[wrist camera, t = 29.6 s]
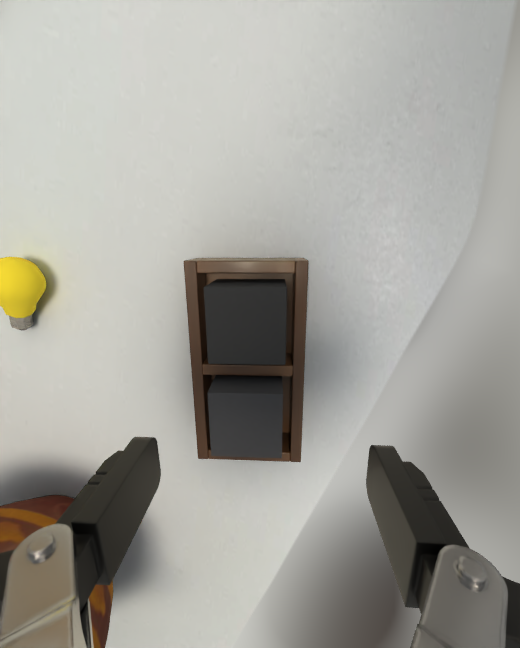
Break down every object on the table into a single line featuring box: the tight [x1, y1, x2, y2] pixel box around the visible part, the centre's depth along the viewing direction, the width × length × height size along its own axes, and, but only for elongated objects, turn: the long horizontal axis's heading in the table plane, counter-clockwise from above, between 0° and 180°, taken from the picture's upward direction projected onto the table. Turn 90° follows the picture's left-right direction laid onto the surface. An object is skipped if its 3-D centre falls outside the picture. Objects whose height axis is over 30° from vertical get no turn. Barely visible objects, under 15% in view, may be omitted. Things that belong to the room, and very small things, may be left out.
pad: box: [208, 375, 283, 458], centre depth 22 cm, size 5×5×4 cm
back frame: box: [184, 258, 308, 462], centre depth 22 cm, size 8×15×3 cm, turn 0°
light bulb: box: [0, 257, 46, 330], centre depth 22 cm, size 3×6×4 cm, turn 160°
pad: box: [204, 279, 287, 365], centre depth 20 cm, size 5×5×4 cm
